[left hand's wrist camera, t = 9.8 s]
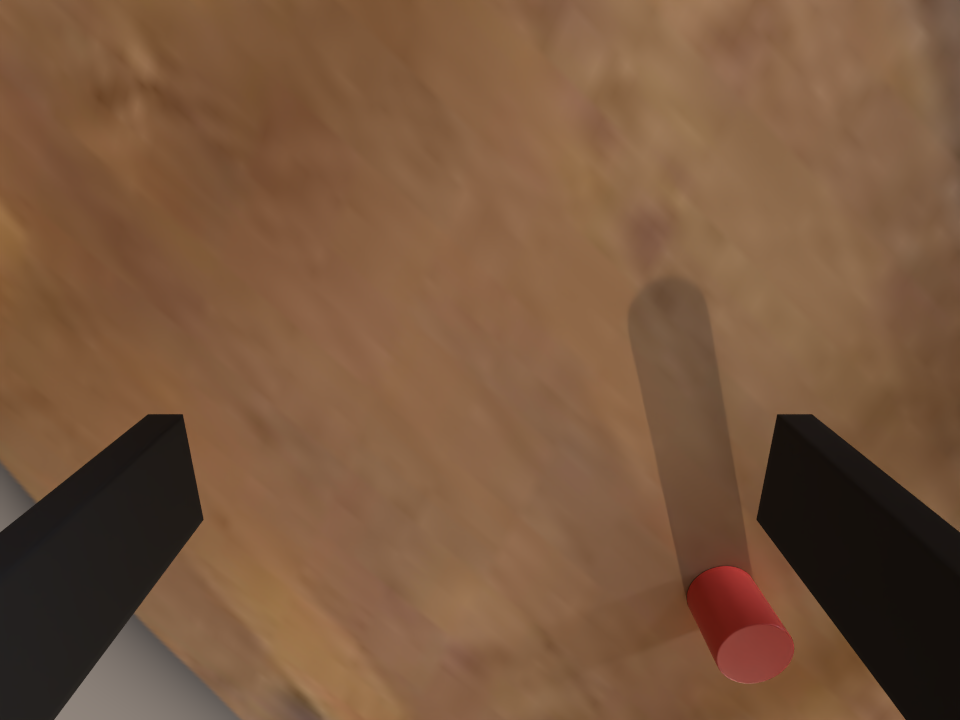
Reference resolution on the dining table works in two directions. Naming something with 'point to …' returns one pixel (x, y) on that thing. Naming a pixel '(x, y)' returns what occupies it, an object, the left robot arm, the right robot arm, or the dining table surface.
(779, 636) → the canister
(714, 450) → the dining table surface
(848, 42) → the dining table surface
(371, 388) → the dining table surface
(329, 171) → the dining table surface
